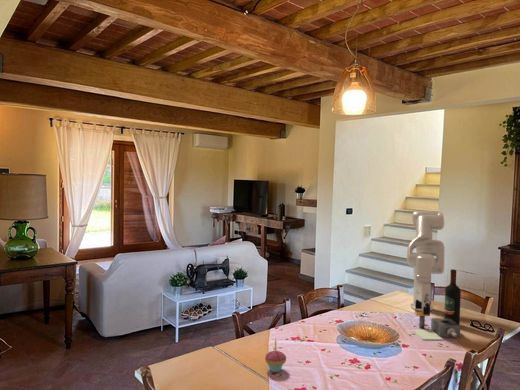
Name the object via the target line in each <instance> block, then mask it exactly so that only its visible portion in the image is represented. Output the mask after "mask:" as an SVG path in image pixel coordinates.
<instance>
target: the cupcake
mask: <svg viewBox="0 0 520 390" xmlns="http://www.w3.org/2000/svg"><path fill="white" fill-rule="evenodd" d="M274 339H275V340H274V350H271V351H268V353H266V354H265V358H264V359H265V363H267V366H268V369H269V371H270V372H273V373H278V372H281V370H282V368H283V365H284V364H285V363H286V361H287V356H286V354H285V353H284V352H282V351H280V350H277V337H275V338H274Z"/></svg>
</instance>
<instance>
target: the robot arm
mask: <svg viewBox="0 0 520 390" xmlns="http://www.w3.org/2000/svg"><path fill="white" fill-rule="evenodd" d="M411 219H412V222H413V225H414V228H415V233H416V234H415V235H416V236H415V238H414V239H412V240H411V241H410V242H409V244H408V245H407V246H408V247H407V251H406V263H407V265H408V266H410V267H413V303H410V308H411V309H413V310H414V311H415V310H423V314H424V315H430V316H431V312H432V311H433V306H432V305H431V304H432V299H431V298H432V297H431V291H432V290H431V289H432V284H431V283H432V275H442V274H444V271H445V244H444V242H443V241H442V240H437V239H436V240H435V239H433V230H435V231H436V230H438V231H439V230H440V231H441V230H443V229H444V227H445V217H444V214H443V212H442V211H430V210H428V211H426V210H417V211H414V212H413V213H412V218H411ZM414 249H415V250H416V252H413V251H414Z"/></svg>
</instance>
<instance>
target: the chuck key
mask: <svg viewBox="0 0 520 390" xmlns="http://www.w3.org/2000/svg"><path fill="white" fill-rule="evenodd" d="M414 315H415V316H418V317H419V319H418V320H419V323H418V324H419V325H418V327H419V330H425V327H426V326H425V323H426V322H425V321H426V317H430V316H431V314H430V315H424V314H423V310H415V309H414Z"/></svg>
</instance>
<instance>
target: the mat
mask: <svg viewBox="0 0 520 390" xmlns="http://www.w3.org/2000/svg"><path fill="white" fill-rule="evenodd" d="M412 331H413V332H414V334H416V335H417V337H419V338H420V339H421V340H422V341H444V339H443V337H440V336H439V335H437V334H436V333H435V332H434V331H433V330H431V329H412Z"/></svg>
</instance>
